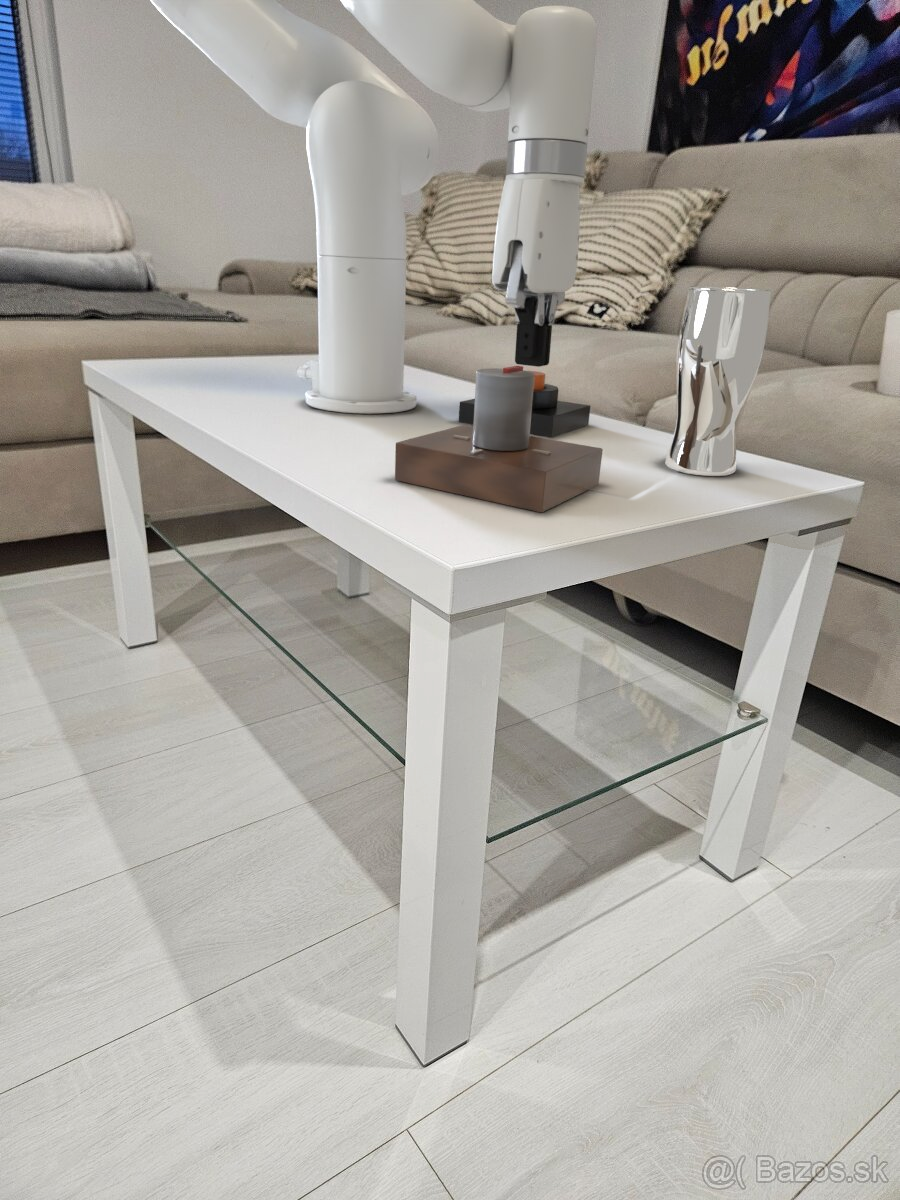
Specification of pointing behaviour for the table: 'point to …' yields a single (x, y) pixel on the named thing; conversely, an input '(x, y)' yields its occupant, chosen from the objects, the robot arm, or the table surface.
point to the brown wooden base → (499, 468)
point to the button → (538, 380)
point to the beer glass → (715, 375)
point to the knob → (503, 408)
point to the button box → (543, 413)
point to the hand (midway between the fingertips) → (531, 364)
